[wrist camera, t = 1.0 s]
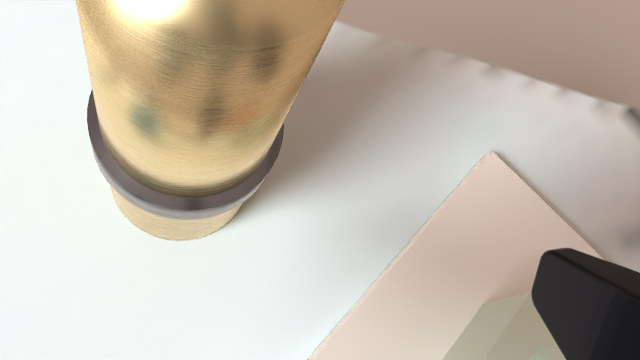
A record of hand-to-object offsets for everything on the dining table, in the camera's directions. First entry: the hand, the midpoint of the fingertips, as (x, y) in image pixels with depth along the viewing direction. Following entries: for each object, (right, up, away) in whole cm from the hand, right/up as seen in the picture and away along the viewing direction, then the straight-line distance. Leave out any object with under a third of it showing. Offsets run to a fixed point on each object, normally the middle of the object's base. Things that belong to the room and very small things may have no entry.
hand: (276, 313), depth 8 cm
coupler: (-5, +2, +13) cm, 14 cm away
